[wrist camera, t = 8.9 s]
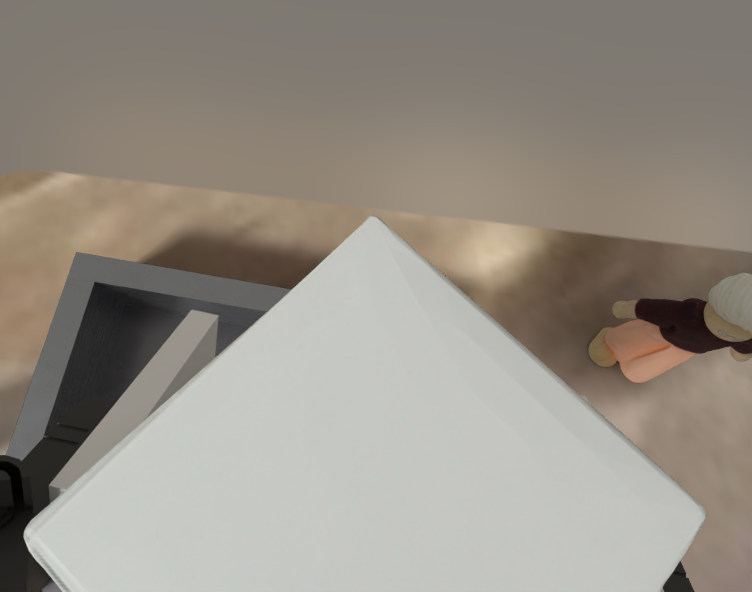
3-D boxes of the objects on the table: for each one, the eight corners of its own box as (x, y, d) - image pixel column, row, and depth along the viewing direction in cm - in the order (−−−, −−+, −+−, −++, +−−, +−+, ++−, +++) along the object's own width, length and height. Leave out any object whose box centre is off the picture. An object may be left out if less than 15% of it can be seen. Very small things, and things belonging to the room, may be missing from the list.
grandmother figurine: (571, 375, 36) (686, 328, 24) (574, 318, 38) (685, 246, 25) (689, 394, 36) (862, 357, 24) (688, 337, 38) (853, 274, 26)
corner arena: (402, 331, 37) (411, 310, 32) (354, 644, 31) (356, 676, 26) (111, 280, 36) (76, 252, 32) (12, 587, 31) (-48, 608, 26)
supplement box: (497, 494, 20) (739, 523, 8) (352, 669, 18) (395, 1034, 6) (351, 352, 22) (378, 197, 10) (200, 501, 20) (-7, 544, 8)
